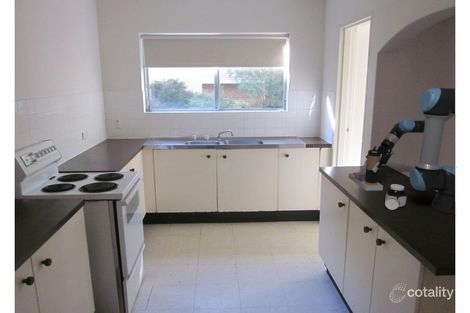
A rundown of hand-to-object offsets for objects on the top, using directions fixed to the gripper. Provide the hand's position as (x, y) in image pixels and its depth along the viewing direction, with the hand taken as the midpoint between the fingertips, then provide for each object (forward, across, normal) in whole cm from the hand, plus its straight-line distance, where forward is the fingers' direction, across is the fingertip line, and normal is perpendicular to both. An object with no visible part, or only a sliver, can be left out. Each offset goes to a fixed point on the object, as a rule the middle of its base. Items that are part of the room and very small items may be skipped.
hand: (368, 169), depth 215 cm
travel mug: (+4, 0, -9) cm, 9 cm away
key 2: (+6, 0, -11) cm, 12 cm away
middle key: (+2, +8, -12) cm, 15 cm away
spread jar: (+16, -29, -2) cm, 34 cm away
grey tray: (+4, +8, -14) cm, 17 cm away
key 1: (+1, +17, -15) cm, 23 cm away
